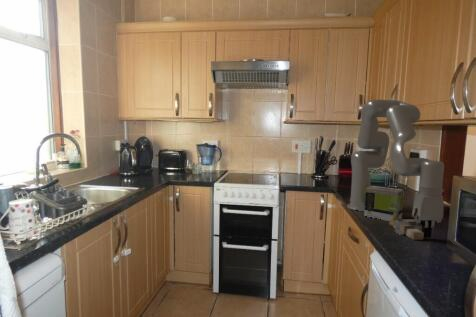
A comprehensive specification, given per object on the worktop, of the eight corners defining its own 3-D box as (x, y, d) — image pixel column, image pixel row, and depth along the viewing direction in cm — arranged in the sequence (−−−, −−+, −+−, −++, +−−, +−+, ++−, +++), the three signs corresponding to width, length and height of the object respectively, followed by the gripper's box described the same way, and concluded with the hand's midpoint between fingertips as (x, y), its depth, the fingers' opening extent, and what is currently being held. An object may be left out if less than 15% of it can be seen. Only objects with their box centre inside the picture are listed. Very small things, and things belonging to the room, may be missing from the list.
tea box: (402, 218, 141) (404, 189, 140) (396, 223, 134) (399, 192, 132) (370, 212, 151) (371, 184, 150) (363, 216, 144) (365, 187, 142)
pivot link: (386, 223, 133) (387, 211, 132) (397, 223, 133) (398, 211, 133) (412, 239, 115) (413, 225, 114) (424, 239, 115) (425, 225, 114)
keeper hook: (394, 232, 123) (395, 219, 122) (411, 232, 123) (413, 219, 123) (399, 235, 120) (400, 221, 119) (416, 234, 121) (417, 221, 120)
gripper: (440, 189, 118) (436, 232, 120) (405, 189, 117) (402, 233, 119) (455, 193, 111) (451, 239, 113) (418, 194, 110) (414, 240, 112)
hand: (426, 236), depth 116 cm, fingers closed
